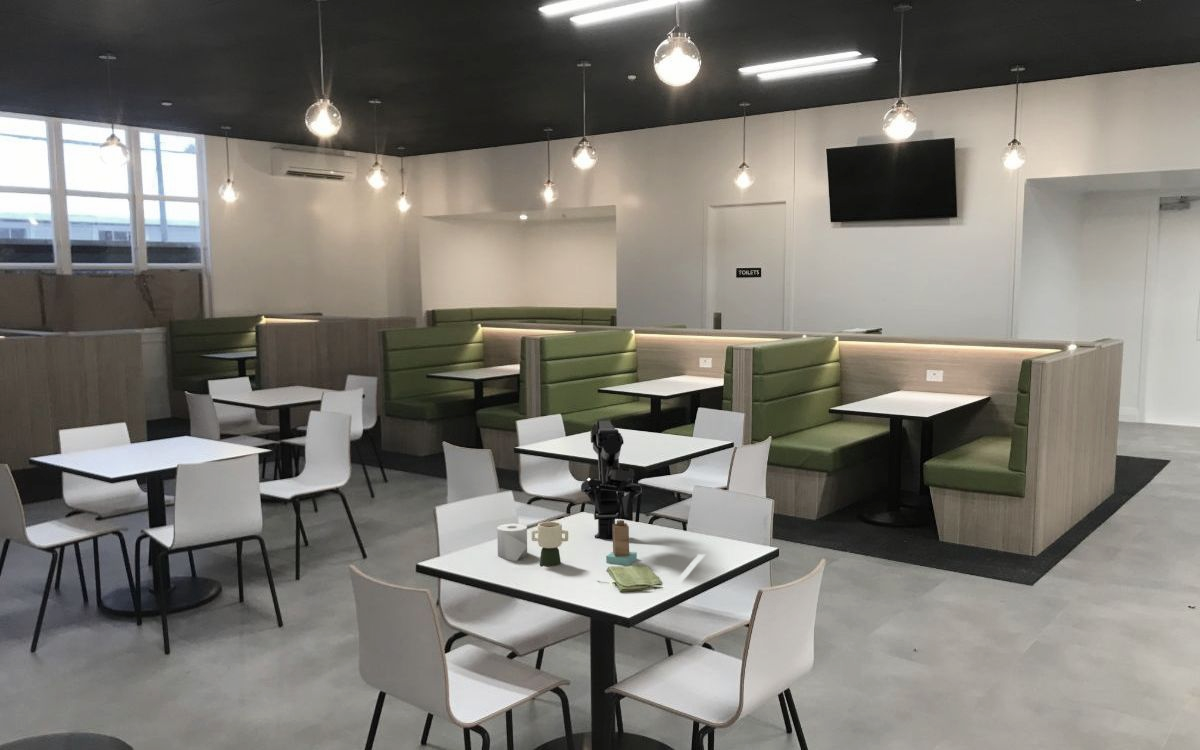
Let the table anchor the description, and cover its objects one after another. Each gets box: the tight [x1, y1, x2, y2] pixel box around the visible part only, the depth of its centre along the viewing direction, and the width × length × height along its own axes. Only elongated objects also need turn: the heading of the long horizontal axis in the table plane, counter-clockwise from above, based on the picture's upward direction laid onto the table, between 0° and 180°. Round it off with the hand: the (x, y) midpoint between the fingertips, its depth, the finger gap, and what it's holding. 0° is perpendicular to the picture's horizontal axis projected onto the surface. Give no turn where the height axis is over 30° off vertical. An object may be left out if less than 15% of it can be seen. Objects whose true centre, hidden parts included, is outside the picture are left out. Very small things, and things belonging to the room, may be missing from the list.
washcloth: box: [605, 564, 664, 593], centre depth 255 cm, size 13×18×3 cm
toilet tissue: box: [496, 523, 528, 562], centre depth 281 cm, size 9×13×9 cm
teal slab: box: [605, 551, 638, 566], centre depth 271 cm, size 7×7×2 cm
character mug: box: [531, 521, 569, 568], centre depth 268 cm, size 11×7×13 cm, turn 86°
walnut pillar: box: [612, 519, 630, 557], centre depth 270 cm, size 4×4×10 cm
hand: (613, 514), depth 279 cm, fingers open, 9 cm apart
